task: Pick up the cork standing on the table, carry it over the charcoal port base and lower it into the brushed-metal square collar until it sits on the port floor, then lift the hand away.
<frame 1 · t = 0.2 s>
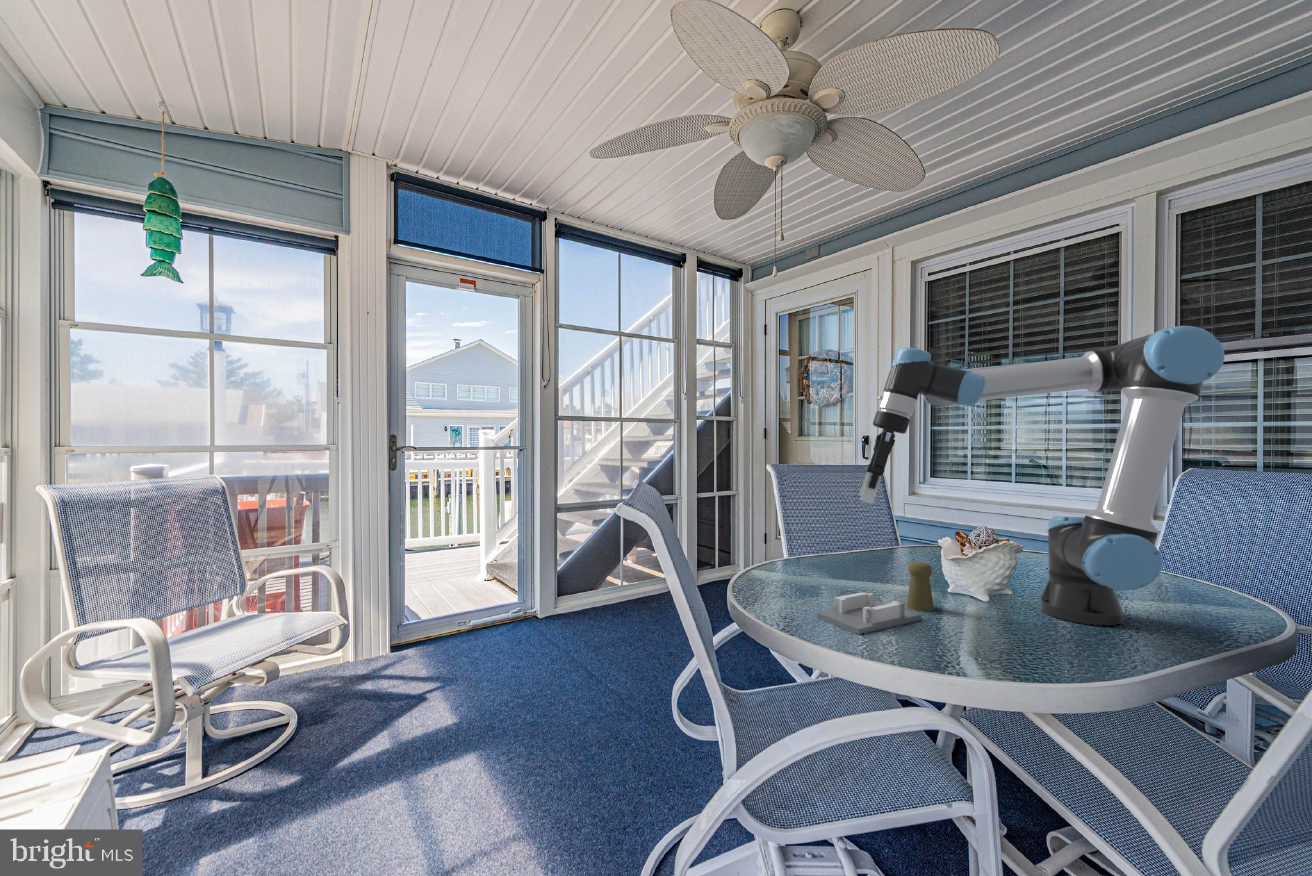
hand: (865, 499, 124), 27 cm above the table, tool tilted 15°, fingers open, 13 cm apart
cork: (920, 608, 127), on the table
port base: (868, 618, 119), on the table
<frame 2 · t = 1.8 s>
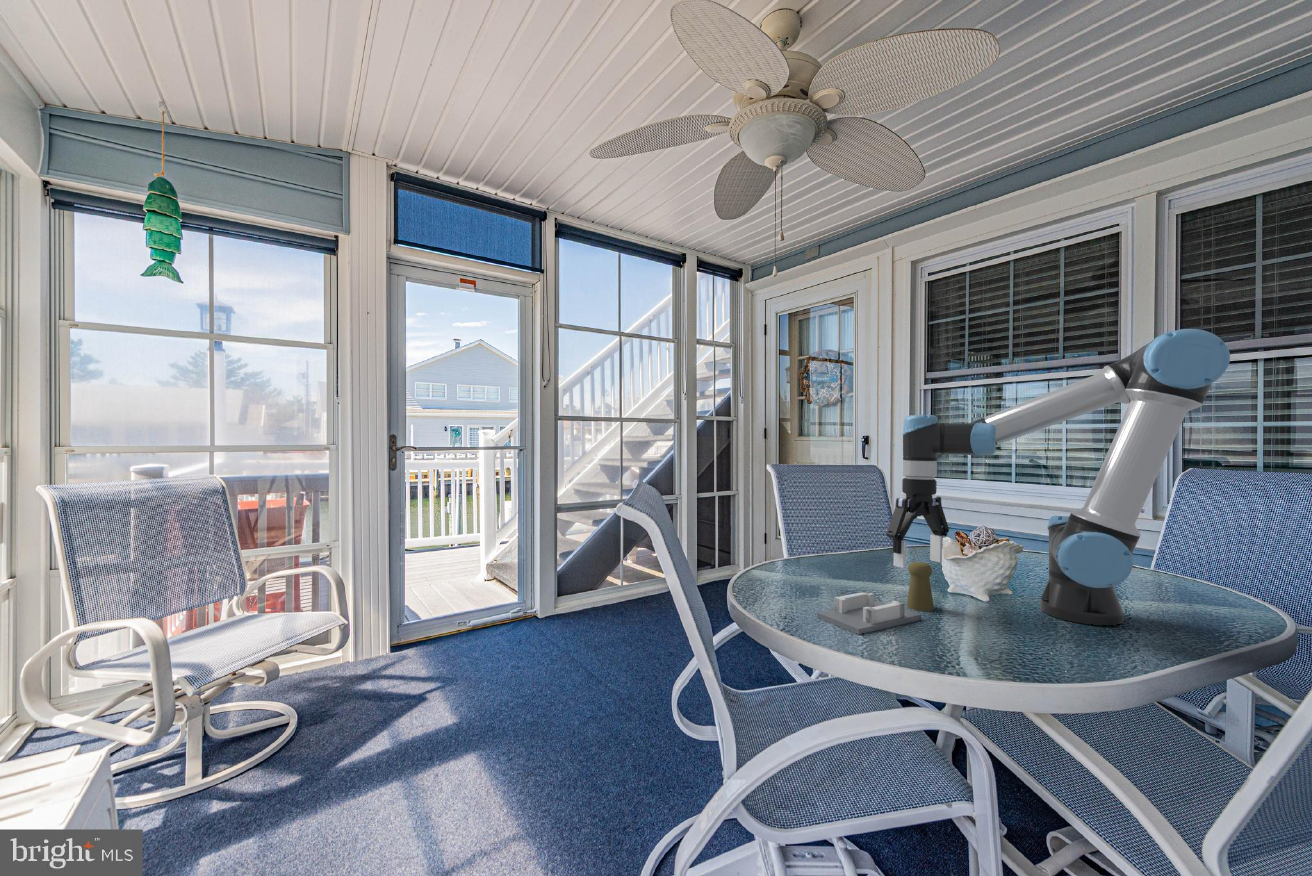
hand: (918, 564, 128), 11 cm above the table, tool pointing down, fingers open, 13 cm apart
nothing on the table moved.
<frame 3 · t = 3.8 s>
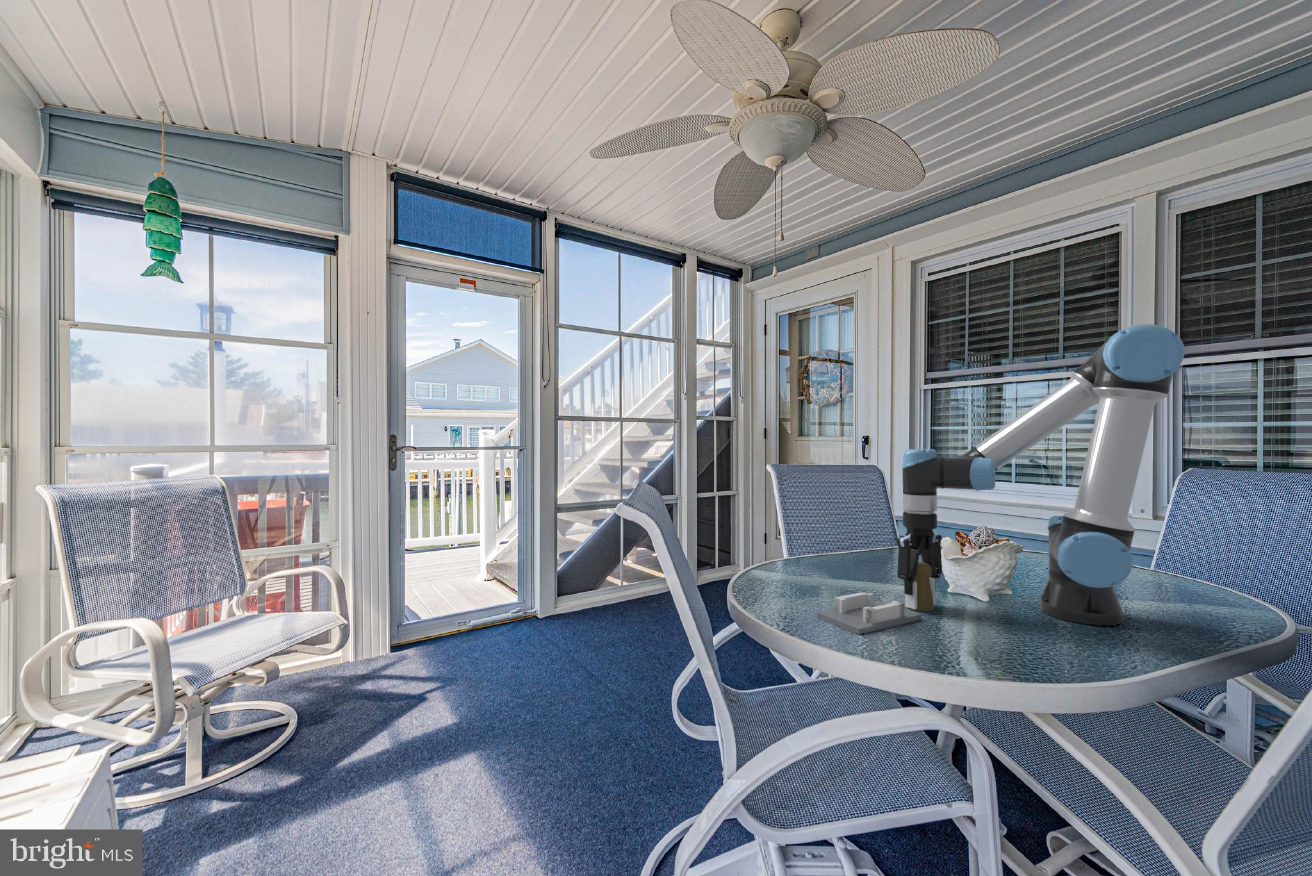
hand: (920, 605, 127), 0 cm above the table, tool pointing down, fingers closed on cork, 6 cm apart
cork: (920, 608, 127), on the table, touching gripper
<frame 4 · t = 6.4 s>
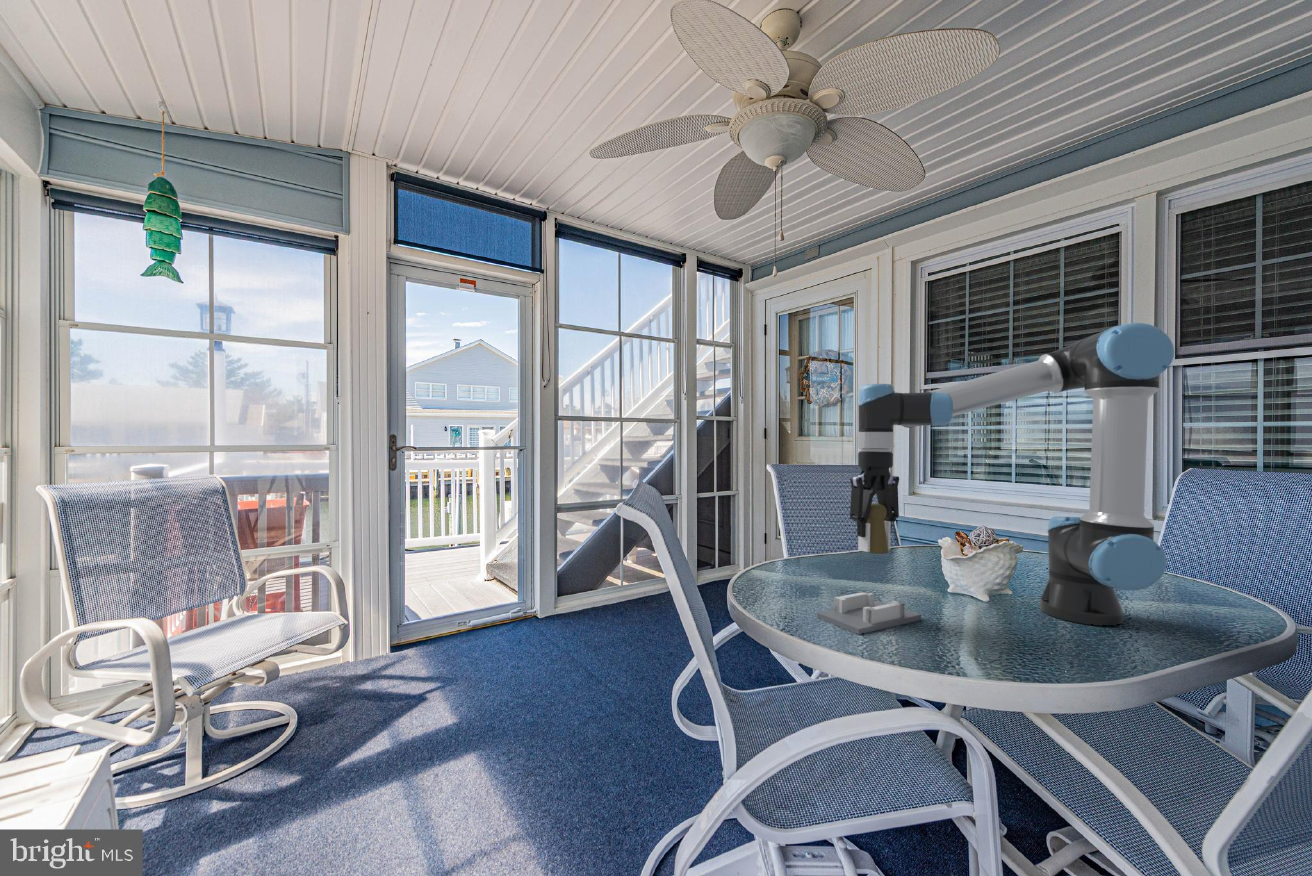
hand: (874, 549, 121), 16 cm above the table, tool pointing down, fingers closed on cork, 6 cm apart
cork: (874, 552, 121), point 15 cm above the table, touching gripper
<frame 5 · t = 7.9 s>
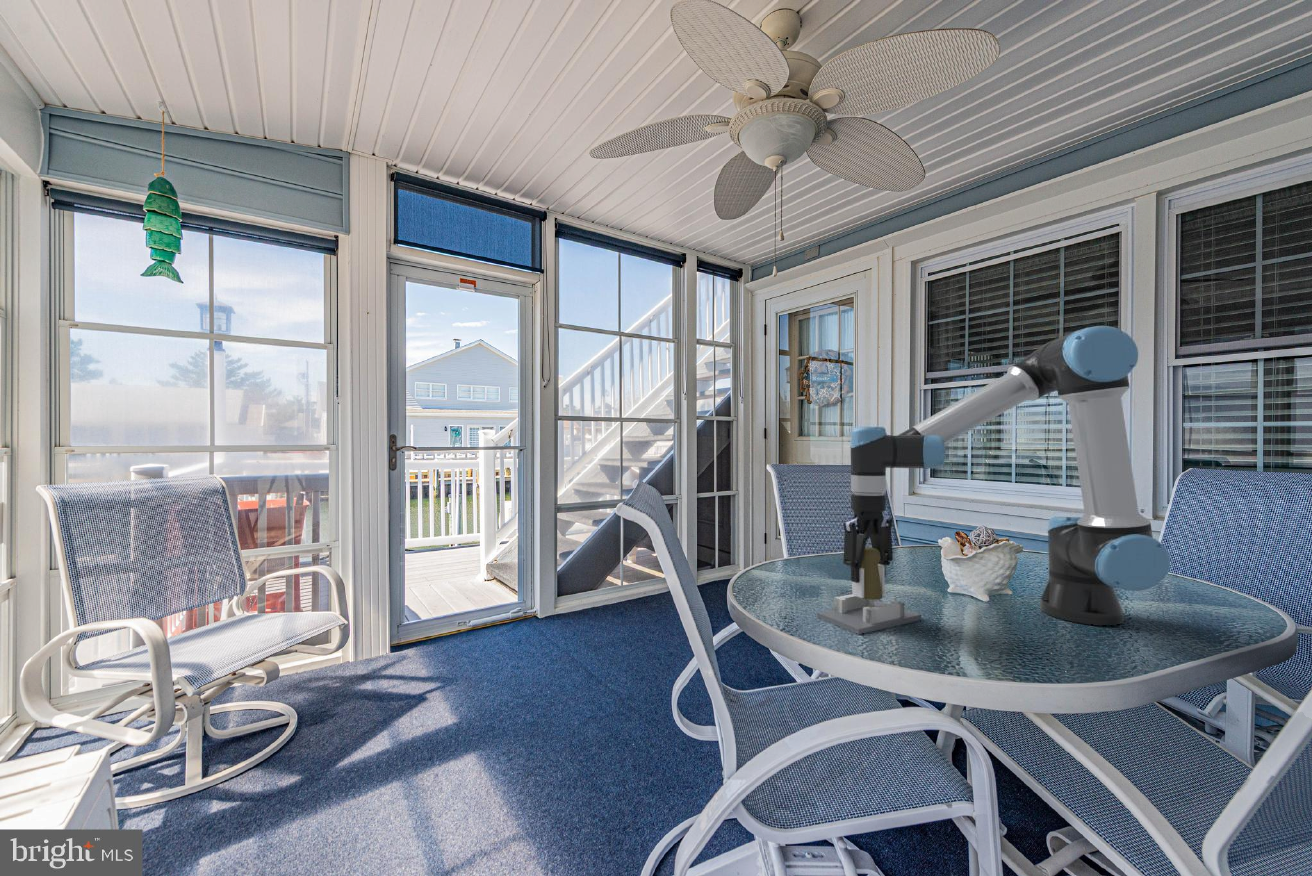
hand: (868, 594, 119), 6 cm above the table, tool pointing down, fingers closed on cork, 6 cm apart
cork: (868, 596, 119), point 5 cm above the table, touching gripper
when the fingers open (3 cm above the table, at t = 9.1 s): cork drops 1 cm, resting on port base.
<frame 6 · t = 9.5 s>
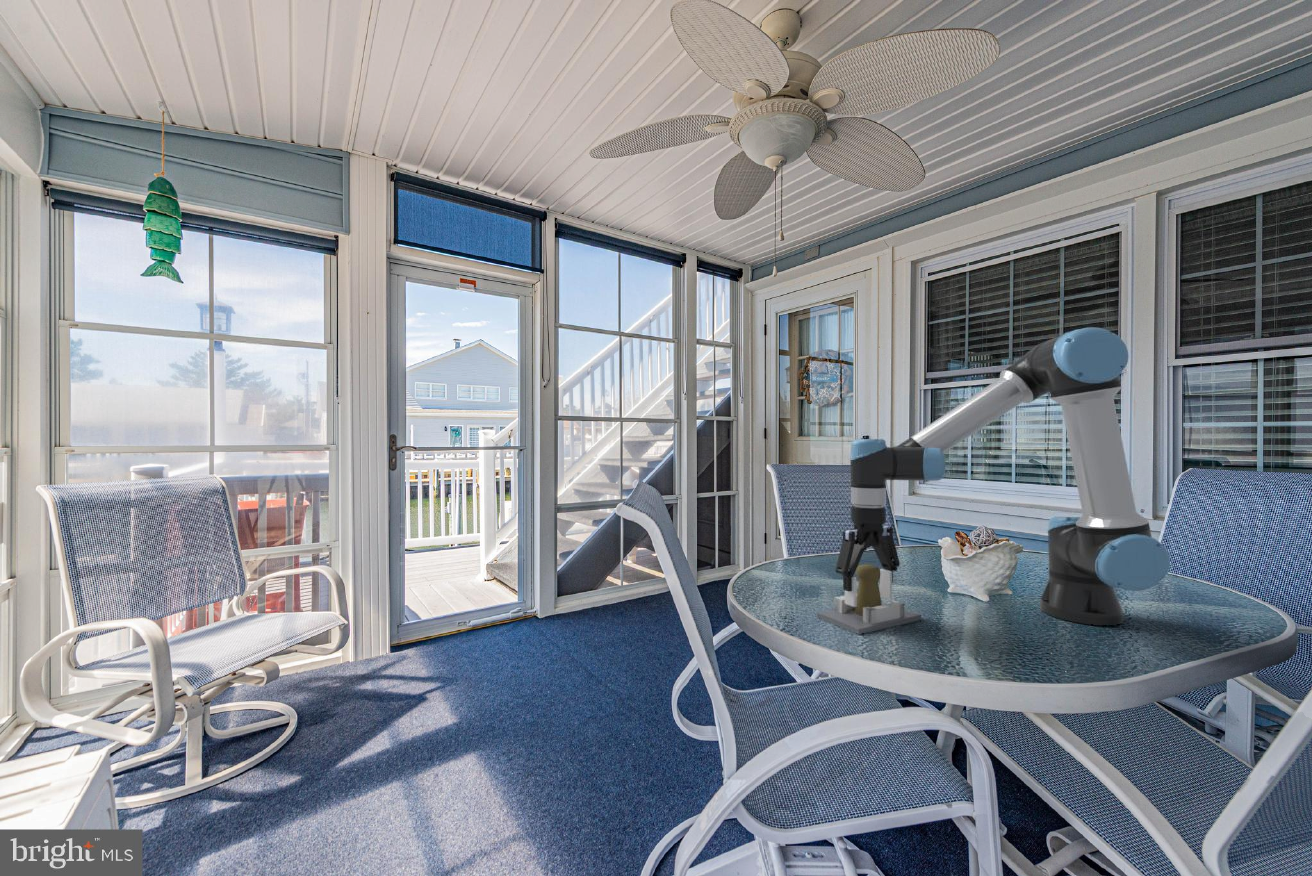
hand: (868, 601, 119), 4 cm above the table, tool pointing down, fingers open, 11 cm apart
cork: (868, 614, 119), point 1 cm above the table, touching port base
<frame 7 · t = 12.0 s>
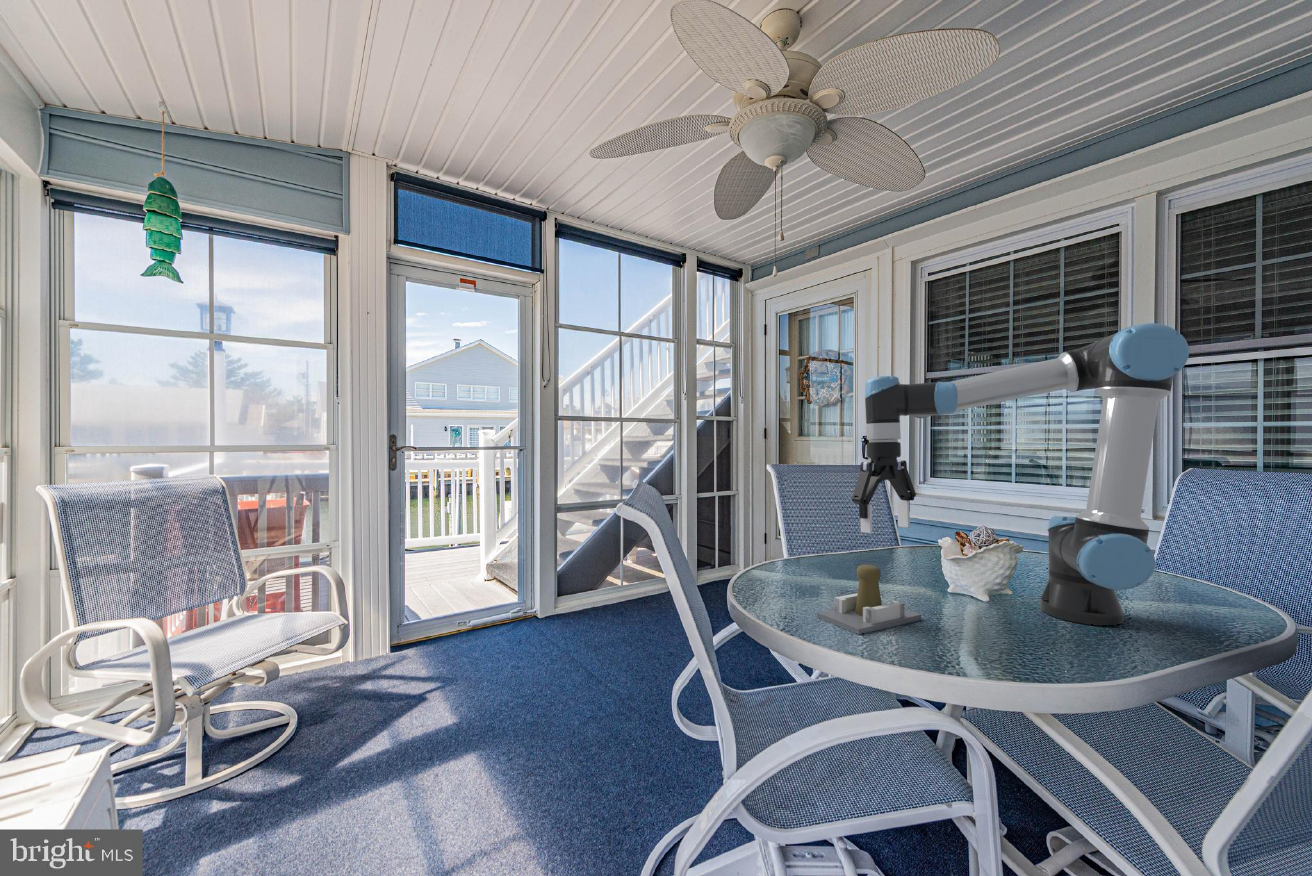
hand: (885, 529, 125), 20 cm above the table, tool pointing down, fingers open, 13 cm apart
nothing on the table moved.
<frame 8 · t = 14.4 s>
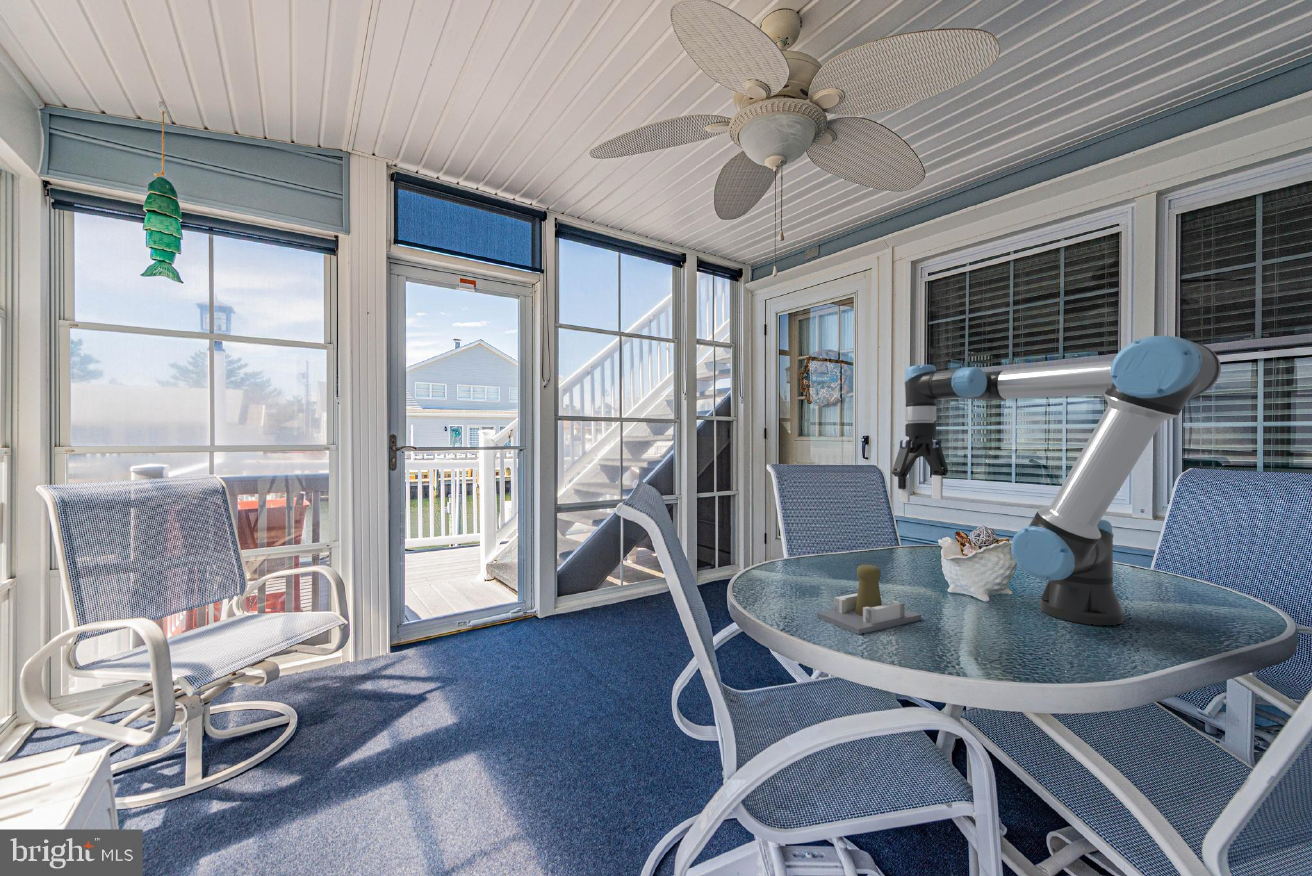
hand: (921, 500, 142), 25 cm above the table, tool pointing down, fingers open, 13 cm apart
nothing on the table moved.
at the end: cork 0.1 cm off-centre on the port base, point 1.0 cm above the port base's base; cork tilted 0°; the gripper is holding nothing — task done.
